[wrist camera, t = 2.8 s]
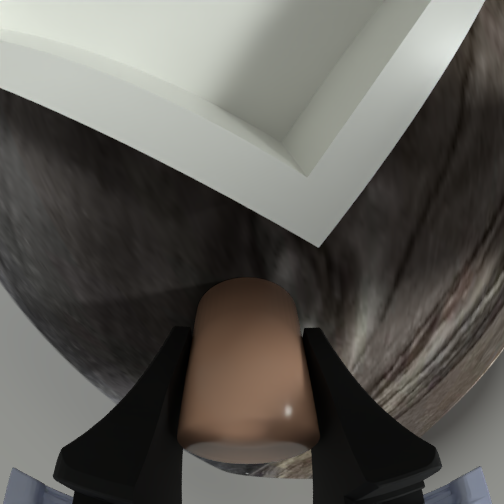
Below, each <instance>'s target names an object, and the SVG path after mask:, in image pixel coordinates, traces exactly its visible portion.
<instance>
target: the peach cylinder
mask: <svg viewBox="0 0 504 504" xmlns="http://www.w3.org/2000/svg"><path fill="white" fill-rule="evenodd" d="M319 439H320V432H319V426H318V421H317V415H316V409H315V403H314V398H313V392H312V387H311V381H310V376H309V370H308V365H307V360H306V355H305V349H304V344H303V339H302V334H301V329H300V324H299V319H298V314H297V309H296V306H295V303H294V301H293V299H292V297H291V296H290V294H289V293H288V292H287V291H286V290H284V289H283V288H282V287H280V286H279V285H277V284H275V283H273V282H270V281H268V280H264V279H259V278H251V277H243V278H234V279H230V280H226V281H224V282H221V283H219V284H217V285H215V286H214V287H212V288H211V289H209V290H208V291H207V292H206V293H205V294H204V296H203V297H202V298H201V300H200V302H199V305H198V308H197V314H196V319H195V325H194V330H193V336H192V341H191V347H190V353H189V359H188V365H187V371H186V377H185V384H184V390H183V397H182V404H181V410H180V417H179V425H178V432H177V440H178V442H179V444H180V445H181V446H182V447H183V448H184V449H186V450H187V451H189V452H191V453H193V454H195V455H197V456H200V457H203V458H206V459H210V460H214V461H220V462H226V463H236V464H258V463H268V462H275V461H280V460H285V459H288V458H292V457H295V456H297V455H300V454H302V453H304V452H306V451H308V450H310V449H311V448H313V447H314V446H315V445H316V444H317V443H318V441H319Z"/></svg>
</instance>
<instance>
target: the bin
mask: <svg viewBox="0 0 504 504" xmlns="http://www.w3.org/2000/svg"><path fill="white" fill-rule="evenodd" d="M484 1H485V0H0V88H2V89H4V90H7V91H9V92H12V93H14V94H16V95H19V96H21V97H24V98H26V99H28V100H31V101H33V102H35V103H38V104H40V105H42V106H44V107H47V108H49V109H51V110H53V111H56V112H58V113H60V114H62V115H65V116H67V117H69V118H71V119H73V120H76V121H78V122H80V123H82V124H84V125H86V126H88V127H91V128H93V129H95V130H97V131H99V132H101V133H103V134H105V135H108V136H110V137H112V138H114V139H116V140H118V141H120V142H122V143H124V144H126V145H128V146H130V147H132V148H134V149H136V150H138V151H140V152H142V153H144V154H146V155H148V156H150V157H152V158H154V159H156V160H158V161H160V162H162V163H164V164H166V165H168V166H170V167H172V168H174V169H176V170H178V171H180V172H182V173H184V174H186V175H188V176H189V177H191V178H193V179H195V180H197V181H199V182H201V183H203V184H205V185H207V186H208V187H210V188H212V189H214V190H216V191H218V192H220V193H222V194H223V195H225V196H227V197H229V198H231V199H233V200H235V201H236V202H238V203H240V204H242V205H244V206H246V207H247V208H249V209H251V210H253V211H255V212H256V213H258V214H260V215H262V216H264V217H265V218H267V219H269V220H271V221H273V222H274V223H276V224H278V225H280V226H281V227H283V228H285V229H287V230H289V231H290V232H292V233H294V234H296V235H297V236H299V237H301V238H303V239H304V240H306V241H308V242H309V243H311V244H313V245H315V246H316V247H318V248H319V247H320V245H321V244H322V243H323V242H324V240H325V239H326V238H327V237H328V235H329V234H330V233H331V231H332V230H333V229H334V228H335V226H336V225H337V224H338V222H339V221H340V220H341V219H342V217H343V216H344V215H345V213H346V212H347V211H348V209H349V208H350V207H351V205H352V204H353V203H354V201H355V200H356V199H357V197H358V196H359V195H360V193H361V192H362V191H363V189H364V188H365V187H366V185H367V184H368V183H369V181H370V180H371V179H372V177H373V176H374V174H375V173H376V172H377V170H378V169H379V168H380V166H381V165H382V163H383V162H384V161H385V159H386V158H387V156H388V155H389V154H390V152H391V151H392V149H393V148H394V146H395V145H396V144H397V142H398V141H399V139H400V138H401V136H402V135H403V134H404V132H405V131H406V129H407V128H408V126H409V125H410V123H411V122H412V120H413V119H414V117H415V116H416V114H417V113H418V111H419V110H420V108H421V107H422V105H423V104H424V102H425V101H426V99H427V98H428V96H429V95H430V93H431V91H432V90H433V88H434V87H435V85H436V84H437V82H438V81H439V79H440V77H441V76H442V74H443V73H444V71H445V69H446V68H447V66H448V64H449V63H450V61H451V59H452V58H453V56H454V55H455V53H456V51H457V49H458V48H459V46H460V44H461V43H462V41H463V39H464V38H465V36H466V34H467V32H468V31H469V29H470V27H471V25H472V23H473V22H474V20H475V18H476V16H477V14H478V12H479V11H480V9H481V7H482V5H483V3H484Z"/></svg>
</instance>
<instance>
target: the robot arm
mask: <svg viewBox="0 0 504 504" xmlns="http://www.w3.org/2000/svg"><path fill="white" fill-rule="evenodd" d="M302 339H303V344H304V349H305V355H306V360H307V365H308V370H309V376H310V381H311V387H312V392H313V398H314V403H315V409H316V415H317V421H318V426H319V432H320V439H319V441H318V443H317V444H316V445H315V446H314V447H313V448H311V453H312V470H313V504H492V502H491V498H490V494H489V491H488V487H487V484H486V481H485V477H484V474H483V471H482V468H481V467H480V466H479V467H477V468H475V469H474V470H472V471H470V472H468V473H466V474H465V475H463V476H461V477H459V478H457V479H455V480H453V481H452V482H450V483H449V484H447V485H445V486H443V487H441V488H439V489H436V490H434V491H431V492H429V493H427V494H424V495H423V493H422V489H423V488H424V487H425V485H424V481H423V480H424V479H426V478H428V477H430V476H431V475H433V474H434V473H436V472H438V471H439V470H440V469H441V467H442V464H441V461H440V458H439V454H438V452H437V450H436V448H435V447H434V446H433V445H431V444H429V443H428V442H426V441H424V440H422V439H421V438H419V437H418V436H416V435H415V434H413V433H412V432H410V431H409V430H408V429H406V428H405V427H404V426H402V425H401V424H400V423H399V422H397V421H396V420H395V419H394V418H393V417H391V416H390V415H389V414H388V413H387V412H386V411H385V410H383V409H382V408H381V407H380V406H379V405H378V404H377V403H376V402H375V401H374V400H373V399H372V398H371V397H370V396H369V394H368V393H367V392H366V391H365V390H364V389H363V388H362V387H361V385H360V384H359V383H358V382H357V381H356V379H355V378H354V377H353V376H352V374H351V373H350V372H349V370H348V369H347V368H346V366H345V365H344V363H343V362H342V361H341V359H340V358H339V356H338V355H337V354H336V352H335V351H334V349H333V348H332V346H331V344H330V343H329V341H328V340H327V338H326V336H325V335H324V333H323V332H322V330H321V329H320V328H304V332H303V337H302ZM191 341H192V335H191V329H190V327H180V326H175V327H174V328H173V329H172V331H171V332H170V334H169V336H168V338H167V339H166V341H165V343H164V344H163V346H162V347H161V349H160V351H159V352H158V354H157V355H156V357H155V358H154V360H153V361H152V363H151V364H150V366H149V367H148V368H147V370H146V371H145V372H144V374H143V375H142V376H141V378H140V379H139V380H138V382H137V383H136V384H135V385H134V387H133V388H132V389H131V390H130V391H129V392H128V394H127V395H126V396H125V397H124V398H123V399H122V400H121V401H120V402H119V403H118V404H117V405H116V406H115V407H114V408H113V409H112V410H111V411H110V412H109V413H108V414H107V415H106V416H105V417H104V418H103V419H102V420H100V421H99V422H98V423H97V424H95V425H94V426H93V427H92V428H90V429H89V430H88V431H87V432H85V433H84V434H83V435H81V436H80V437H78V438H77V439H76V440H74V441H73V442H71V443H70V444H68V445H66V446H65V447H63V448H62V449H61V452H60V454H59V456H58V459H57V462H56V466H55V470H54V474H53V478H54V479H55V480H56V481H58V482H59V483H61V484H63V485H65V486H66V487H68V488H70V489H72V490H74V491H75V492H74V497H71V496H69V495H67V494H64V493H62V492H59V491H57V490H55V489H53V488H50V487H48V486H46V485H45V484H43V483H42V482H40V481H38V480H36V479H34V478H32V477H31V476H29V475H27V474H25V473H23V472H21V471H19V470H18V469H16V468H12V471H11V474H10V478H9V482H8V485H7V490H6V494H5V498H4V502H3V504H182V454H183V447H182V446H181V445H180V444H179V442H178V440H177V432H178V425H179V417H180V410H181V404H182V397H183V390H184V384H185V377H186V371H187V365H188V359H189V353H190V347H191Z"/></svg>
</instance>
